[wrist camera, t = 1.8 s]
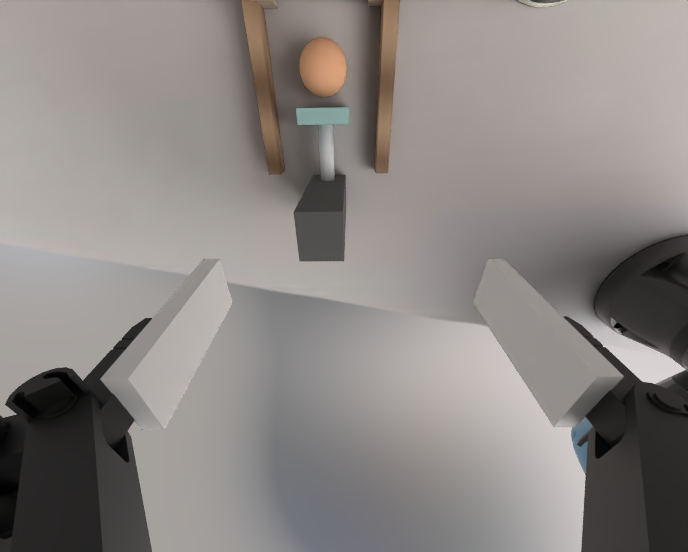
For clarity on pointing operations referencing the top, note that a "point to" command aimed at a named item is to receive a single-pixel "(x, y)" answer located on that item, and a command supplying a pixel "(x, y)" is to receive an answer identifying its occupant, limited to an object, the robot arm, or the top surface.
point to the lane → (258, 46)
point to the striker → (322, 193)
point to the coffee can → (542, 2)
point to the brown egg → (323, 67)
